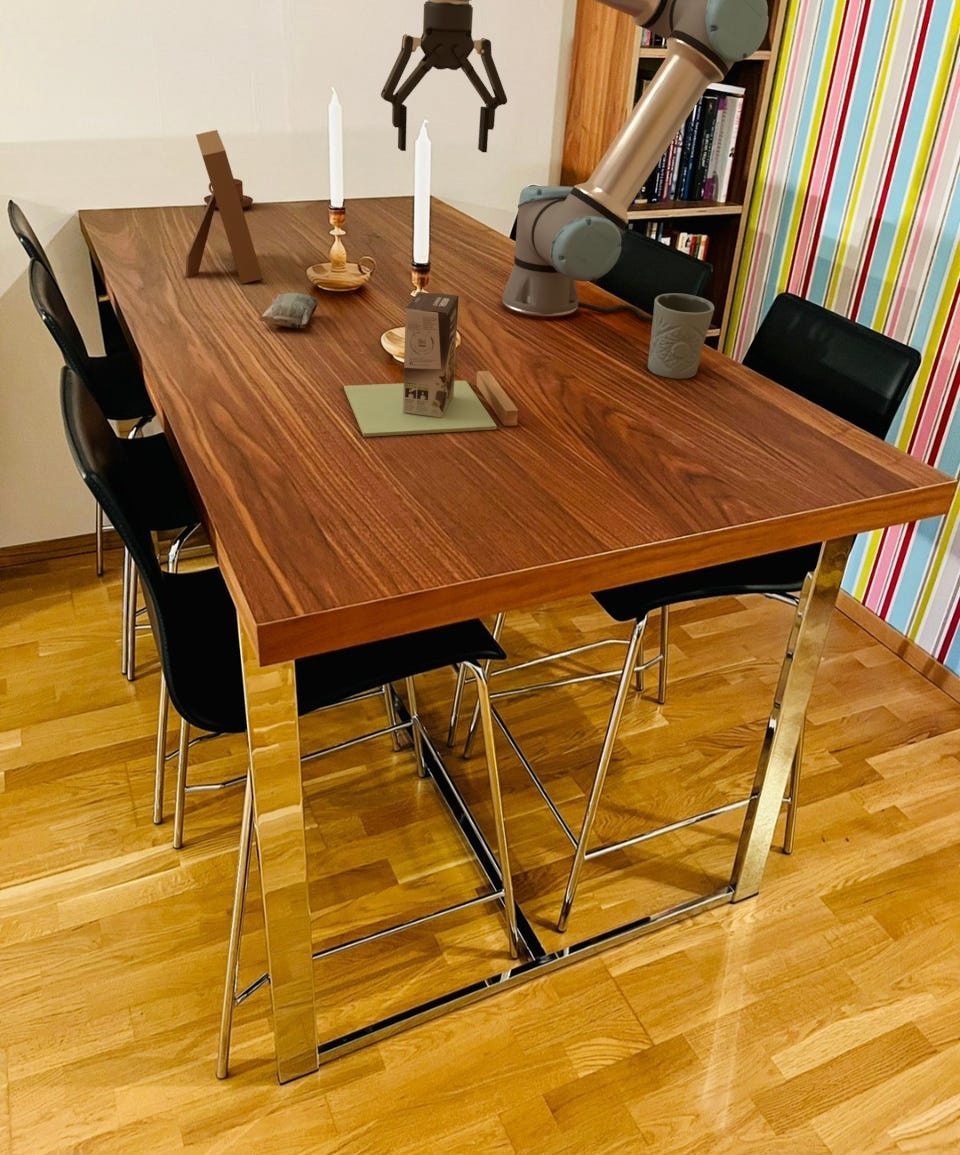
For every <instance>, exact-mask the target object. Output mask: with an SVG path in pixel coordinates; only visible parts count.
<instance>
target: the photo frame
mask: <svg viewBox="0 0 960 1155" xmlns="http://www.w3.org/2000/svg"><path fill="white" fill-rule="evenodd" d="M195 137H196V141H197V143H198V147H199V150H200V153H201V156H202V159H203V162H204V166H205V169H206V172H207V175H208V179H209V183H210V182H211V189H212V191H213V193H211V194H210V195H211V198H210V200H209V202H208V204H207V205H206V208H205V210H204V212H203V214H202V217H201V220H200V222H199V224H198V227H197V229H196V231H195V234H194V236H193V239H192V241H191V243H190V246H189V248H188V251H187V253H186V259H185V260H186V261H185V262H186V263H185V277H187V278H188V277H191V276H193V275H195V274H197V273H199V271H200V268H201V264H202V260H203V258H204V257H203V256H204V252H205V248H206V245H207V241H208V237H209V232H210V228H211V225H212V220H213V215H214V213H215V209H216V208H215V205H216V202H217V205H218V208H217V209H218V211H219V215H220V218H221V221H222V225H223V228H224V231H225V233H226V238H227V240H228V244H229V247H230V250H231V254H232V257H233V260H234V263H235V267H236V271H237V273H238V276H239V280H240V283H241V285H244V284H247V283H251V282H255V281H259V280H263V279H264V278H263V277H264V276H263V274H262V270H261V267H260V263H259V260H258V257H257V254H256V251H255V247H254V243H253V240H252V236H251V234H250V233H251V232H250V229H249V226H248V223H247V219H246V216H245V212H244V208H242V205H241V202H240V199H239V195H238V192H237V188H236V185H235V182H234V179H235V178H234V175H233V171H232V169H231V165H230V162H229V158H228V155H227V152H226V148H225V146H224V143H223V141H222V139H221V136H220V134H219V131H218V129H215V130H210V131H206V132H201V133H198V134H195Z"/></svg>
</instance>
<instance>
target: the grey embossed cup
mask: <svg viewBox="0 0 960 1155" xmlns="http://www.w3.org/2000/svg"><path fill="white" fill-rule="evenodd" d="M714 311H715V305H714V304H713V302H711V301H710V300H708V299H706V298H704V297H700V296H697V295H692V294H687V293H678V292H677V293H675V292H673V293H663V294H659V295H657V296H656V297H655V298H654V304H653V316H652V317H653V322H651V333H650V342H649V352H648V358H647V369H648V370H649V372H651V373H653V374H655V375H657V376H659V377H664V378H667V379H668V378H669V379H675V380H683V379H689V378H690V379H691V378H692V377H695V376H696V374H697V372H698V368H699V365H700V359H701V356H702V352H703V349H704V345H705V341H706V339H707V334H708V332H709V328H710V325H711V322H712V319H713V316H714Z"/></svg>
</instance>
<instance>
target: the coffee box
mask: <svg viewBox="0 0 960 1155" xmlns="http://www.w3.org/2000/svg"><path fill="white" fill-rule="evenodd" d="M459 297H460V296H459V295H457V294H449V293H439V292H425V291H424V292H423V291H418V292H417V293H416V294H415V295H414V297H413V298H412V299H411V301H410V302H409V303H408V305H407V306H406V307H405V320H404V321H405V324H404V350H403V351H404V352H403V353H404V354H403V383H404V387H403V412H404V413H410V414H418V415H425V416H432V417H438V418H441V417H442V416H443V415H444V413H445V411H446V409H447V407H448V405H449V403H450V402H451V400H452V398H453V396H454V381H455V376H456V354H457V334H458V333H457V332H458V317H459V316H458V315H459V314H458V313H459Z"/></svg>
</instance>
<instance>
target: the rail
mask: <svg viewBox="0 0 960 1155" xmlns="http://www.w3.org/2000/svg"><path fill="white" fill-rule="evenodd" d="M475 386H476V387H477V389H478V390H479V392H480V394H482V395H483V397H484V399H485V400H486V402H487V403H488V405H489V407H490V408H491V409H492V411H493V412H494V413H495V415H496V417H497V418H498V419H499V421H500V422H501V424H502V425H503V426H504V427H513V426H515V427H516V426H518V416H519V409H518V407H516V405H515V404H514V402H513V401H512V400H511V398H510V397H509V395H508V394H507V393H506V392H505V390H504V389H503V388H502V386H501V385H500V384H499V382H498V381H497V379H496V378H495V376H494V375H493V374H492V372H490V370H478V371H476V385H475Z"/></svg>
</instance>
